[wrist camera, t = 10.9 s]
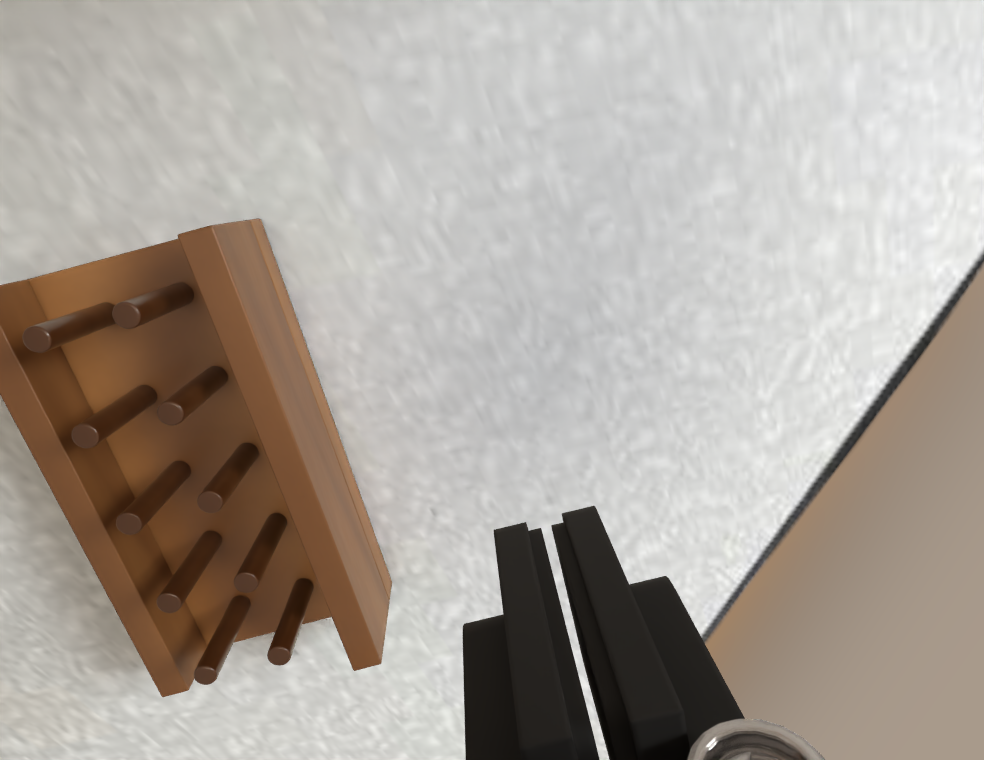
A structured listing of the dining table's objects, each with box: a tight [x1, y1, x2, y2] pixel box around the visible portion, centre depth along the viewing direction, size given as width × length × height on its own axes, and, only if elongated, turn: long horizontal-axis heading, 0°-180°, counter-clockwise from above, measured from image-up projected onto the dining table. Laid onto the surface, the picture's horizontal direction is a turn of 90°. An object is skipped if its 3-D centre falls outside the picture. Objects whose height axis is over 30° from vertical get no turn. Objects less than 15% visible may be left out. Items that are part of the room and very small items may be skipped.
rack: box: [0, 219, 392, 697], centre depth 25 cm, size 10×18×6 cm, turn 14°
